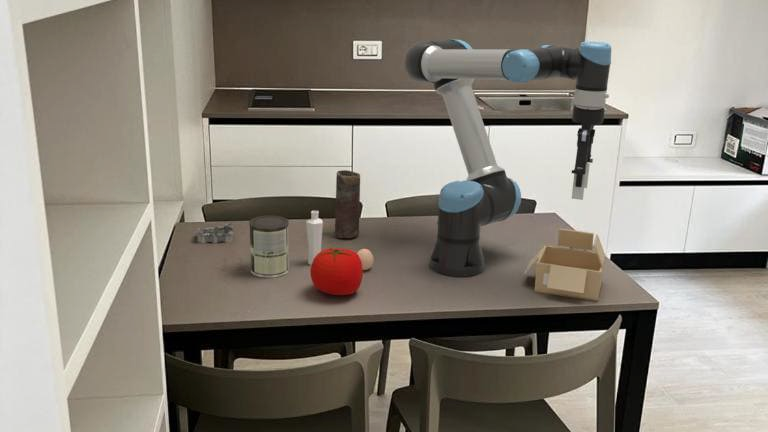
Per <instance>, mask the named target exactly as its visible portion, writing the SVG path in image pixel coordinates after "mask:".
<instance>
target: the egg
mask: <svg viewBox="0 0 768 432" xmlns="http://www.w3.org/2000/svg"><path fill="white" fill-rule="evenodd" d="M356 253H357V254H358V255H359V257H360V259H361V263H362V268H363V271H365V270H366V271H367V270H369V269H370V268H372V266H373V265H374V255H373V254H372V252H371V250H369V249H367V248H362V249H361V248H360V250H358V251H357V252H356Z"/></svg>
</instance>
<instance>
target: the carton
mask: <svg viewBox="0 0 768 432" xmlns="http://www.w3.org/2000/svg"><path fill="white" fill-rule="evenodd" d="M605 259H606V257H605V258H604V262H603V266H601V264H600V261H599V258H598V255H597V253H596V251H590V250H587V251H582V250H574V249H570V248H568V247H561V246H559V247H558V246H551V245H544V246H543V251H542V253H541V255H540V258H539V259H538V261H537V262H536V272H535V281H534V282H535V283H534V290H533V291H534V293H540V294H546V295H553V296H561V297H565V298H572V299H573V298H574V299H578V300H579V299H580V300H584V299H585V300H586V301H592V302H597V303H598V301H599V296H600V292H601V287H602V283H603V277H604V268H605ZM551 265H558V266H565V267H572V268H578V269H585V270H587V274H586V281H585V287H584V293H578V292H571V291H565V290H558V289H552V288H547V286H548V279H549V273H550V267H551ZM585 300H584V301H585Z"/></svg>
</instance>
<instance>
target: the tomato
mask: <svg viewBox="0 0 768 432" xmlns="http://www.w3.org/2000/svg"><path fill="white" fill-rule="evenodd" d="M357 253H358V252H355V251H354V250H351V249H348V248H342V247H341V248H340V247H328V248H325V249H322V250H321V252H320V253H318V254H317V255H316V257H315V258H314V260H313V262H312V265H310V277H311V282H312V284H313V286H314V287H315V288H316V289H317V290H319V291H320V292H322V293H324V294H329V295H333V296H347V295H351V294H353V293H355V292H357V290H359V288H360V286H361V283H362V281H363V276H364V270H363V268H362V263H361V259H360V257H359V255H358V254H357Z"/></svg>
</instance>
